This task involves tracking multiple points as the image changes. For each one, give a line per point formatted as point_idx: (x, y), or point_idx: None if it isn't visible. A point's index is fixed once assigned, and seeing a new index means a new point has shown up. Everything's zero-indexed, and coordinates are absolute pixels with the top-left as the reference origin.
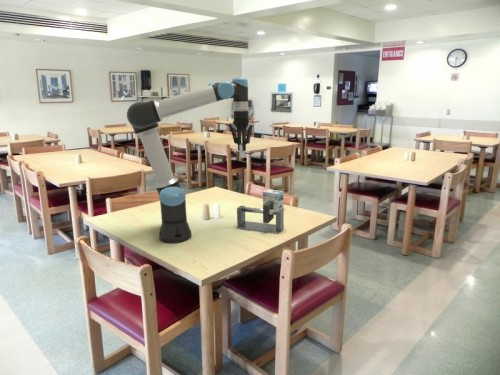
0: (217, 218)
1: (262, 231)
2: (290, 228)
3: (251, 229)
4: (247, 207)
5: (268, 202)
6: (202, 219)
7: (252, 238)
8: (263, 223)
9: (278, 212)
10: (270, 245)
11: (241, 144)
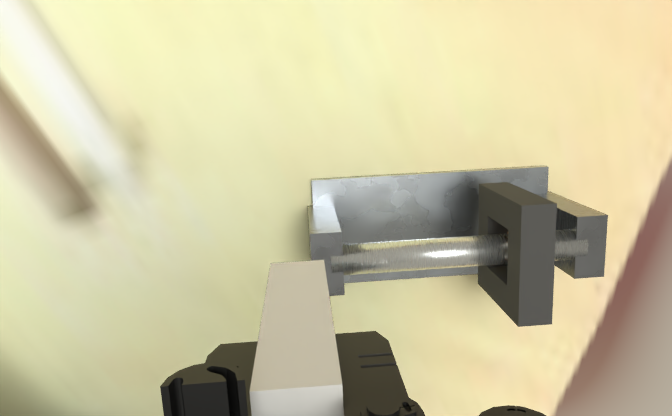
0: (127, 172)
1: (461, 272)
2: (581, 172)
3: (403, 278)
4: (374, 264)
5: (533, 254)
6: (54, 222)
7: (445, 361)
8: (432, 177)
9: (590, 276)
10: (545, 399)
11: (259, 411)
